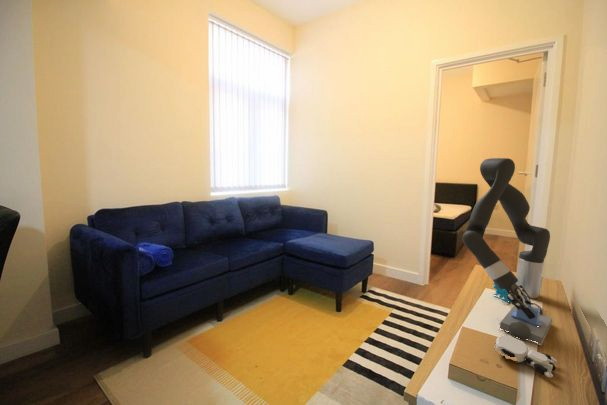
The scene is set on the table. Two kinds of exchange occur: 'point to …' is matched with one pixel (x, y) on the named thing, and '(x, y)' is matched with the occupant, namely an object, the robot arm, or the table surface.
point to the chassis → (526, 326)
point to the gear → (501, 293)
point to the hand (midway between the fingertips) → (534, 315)
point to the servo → (522, 317)
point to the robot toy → (525, 354)
